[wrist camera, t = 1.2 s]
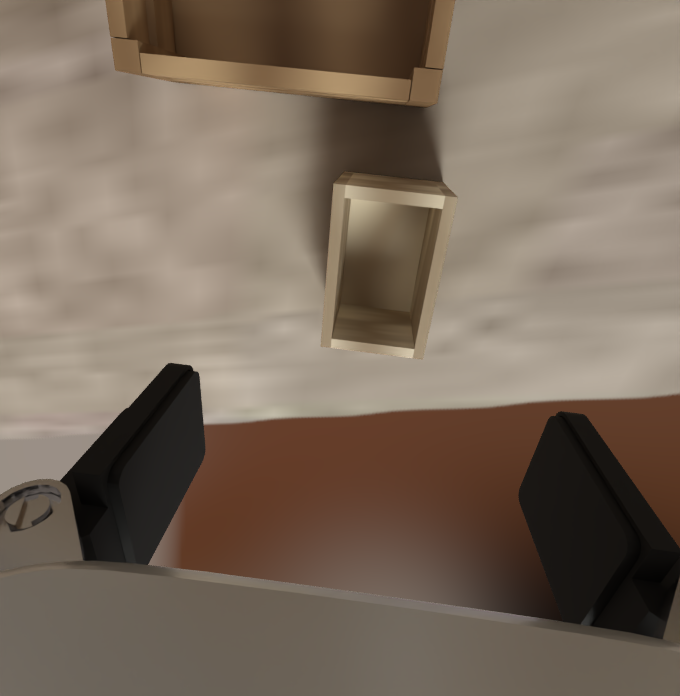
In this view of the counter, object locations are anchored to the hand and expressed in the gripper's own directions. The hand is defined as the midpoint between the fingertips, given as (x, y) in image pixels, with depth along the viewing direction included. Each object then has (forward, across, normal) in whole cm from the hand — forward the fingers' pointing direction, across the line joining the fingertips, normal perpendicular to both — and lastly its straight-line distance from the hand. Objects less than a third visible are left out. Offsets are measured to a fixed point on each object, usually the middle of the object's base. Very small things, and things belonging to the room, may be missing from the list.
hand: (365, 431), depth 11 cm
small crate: (+18, -1, 0) cm, 19 cm away
